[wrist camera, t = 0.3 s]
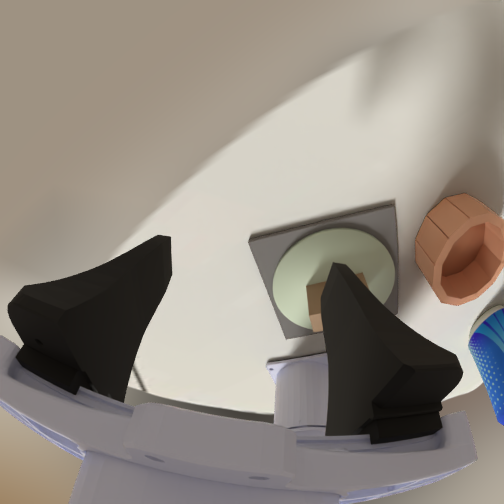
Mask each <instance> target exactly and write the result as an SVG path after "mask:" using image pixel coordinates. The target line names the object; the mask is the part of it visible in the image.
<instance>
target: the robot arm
mask: <svg viewBox="0 0 504 504" xmlns="http://www.w3.org/2000/svg"><path fill="white" fill-rule="evenodd" d="M171 276H172V258H171V237H169V236H163V235H157V236H155V237H153V238H151V239H149V240H147V241H145V242H144V243H142V244H140V245H138V246H137V247H135V248H133V249H131V250H130V251H128V252H126V253H124V254H122V255H120V256H118V257H116V258H115V259H113V260H111V261H109V262H107V263H105V264H102V265H100V266H98V267H95V268H93V269H91V270H88V271H85V272H82V273H79V274H77V275H73V276H70V277H67V278H63V279H60V280H55V281H51V282H46V283H40V284H33V285H26V286H24V287H23V288H22V289H21V290H20V291H19V292H18V294H17V295H16V296H15V297H14V298H13V300H12V301H11V302H10V303H9V304H8V314H9V318H10V319H11V322H12V324H13V326H14V327H15V329H16V331H17V333H18V334H19V336H20V338H21V340H22V341H23V343H24V345H23V347H22V348H21V349H20V348H19V347H18V346H17V345H16V344H15V343H13V342H11V341H10V340H8V339H7V338H5V337H3V336H0V406H1V407H2V408H3V409H5V410H6V411H7V412H8V413H10V414H11V415H12V416H14V417H15V418H16V419H18V420H19V421H20V422H22V423H23V424H25V425H26V426H27V427H29V428H30V429H32V430H33V431H34V432H36V433H37V434H39V435H40V436H42V437H44V438H45V439H47V440H48V441H50V442H51V443H53V444H55V445H56V446H58V447H60V448H61V449H63V450H65V451H66V452H68V453H70V454H72V455H74V456H76V457H77V458H79V459H81V460H83V462H82V465H81V467H80V470H79V473H78V476H77V479H76V482H75V485H74V488H73V491H72V495H71V497H70V501H69V504H350V503H356V502H362V501H368V500H372V499H377V498H381V497H386V496H389V495H394V494H398V493H401V492H405V491H408V490H412V489H415V488H418V487H421V486H424V485H428V484H431V483H434V482H436V481H439V480H441V479H443V478H445V477H447V476H449V475H451V474H453V473H455V472H457V471H459V470H461V469H463V468H465V467H467V466H468V465H470V464H471V463H474V462H475V461H477V459H478V457H477V452H476V448H475V445H474V440H473V436H472V433H471V429H470V425H469V422H468V418H467V415H466V412H465V411H460V412H456V413H452V414H448V415H445V416H443V417H441V418H440V415H439V411H441V410H442V404H441V401H442V400H443V399H444V398H445V397H446V396H447V395H448V394H449V393H450V392H451V391H452V390H453V389H454V388H455V387H456V386H457V385H458V384H459V382H460V380H461V378H462V376H463V370H462V368H461V365H460V363H459V360H458V358H457V356H456V354H454V353H452V352H450V351H448V350H446V349H444V348H442V347H440V346H438V345H436V344H434V343H433V342H431V341H429V340H428V339H426V338H424V337H423V336H421V335H420V334H418V333H417V332H415V331H414V330H413V329H411V328H410V327H409V326H407V325H406V324H405V323H403V322H402V321H401V320H400V319H399V318H397V317H396V316H395V315H394V314H393V313H392V312H390V311H389V310H388V309H387V308H386V307H385V306H384V305H383V304H382V303H381V302H380V301H379V300H378V299H377V298H376V297H375V296H374V295H373V294H372V292H371V291H370V290H369V289H368V288H367V287H366V286H365V285H364V284H363V282H362V281H361V280H360V279H359V278H358V277H357V276H356V275H355V273H354V272H353V271H352V270H351V269H350V268H349V267H348V266H347V265H346V264H341V263H335V262H333V263H332V266H331V269H330V272H329V275H328V278H327V281H326V284H325V286H324V289H323V292H322V295H321V320H322V326H323V332H324V338H325V345H326V351H327V353H323V354H318V355H313V356H307V357H301V358H295V359H289V360H283V361H276V362H269V363H267V364H266V368H267V370H268V372H269V374H270V375H271V377H272V379H273V381H274V383H275V385H276V391H275V411H274V424H271V423H266V422H259V421H250V420H243V419H236V418H229V417H222V416H216V415H211V414H206V413H201V412H196V411H191V410H187V409H183V408H178V407H174V406H170V405H165V404H158V403H153V402H149V403H143V404H139V405H136V406H135V407H134V406H131V405H128V404H125V403H124V399H125V394H126V390H127V386H128V382H129V378H130V374H131V371H132V367H133V364H134V361H135V358H136V354H137V351H138V349H139V346H140V343H141V340H142V337H143V335H144V333H145V330H146V328H147V326H148V324H149V322H150V320H151V319H152V317H153V315H154V313H155V311H156V309H157V307H158V305H159V304H160V302H161V300H162V298H163V296H164V294H165V292H166V290H167V287H168V284H169V282H170V279H171Z"/></svg>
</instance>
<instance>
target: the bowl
mask: <svg viewBox="0 0 504 504" xmlns="http://www.w3.org/2000/svg"><path fill="white" fill-rule="evenodd" d="M415 261H416V263H417V265H418V267H419V268H420V270H421V271H422V273H423V274H424V276H425V278H426V279H427V281H428V282H429V284H430V286H431V287H432V289H433V291H434V292H435V294H436V295H437V297H438V298H439V300H440V302H441V303H445V304H450V305H456V306H457V305H458V306H459V305H461V304H464V303H466V302H469V301H472V300H474V299H476V298H478V297H479V296H480V295H481V294H482V293H484V292H485V291H486V290H487V289H488V288H489V287H490V286H491V285H492V284H493V282H495V280H496V279H497V277H498V275H499V274H500V272H501V270H502V269H503V267H504V219H502V218H501V217H500V216H499V215H498V214H496V213H495V212H494V211H493V210H491V209H490V208H489V207H487V206H486V205H485V204H483V203H482V202H481V201H479V200H477V199H476V198H474V197H472V196H470V195H468V194H466V193H463V194H458V195H454V196H450V197H446V199H445V198H444V199H443V200H442V201H441V202H440V203H439V204H438V205H437V206H436V207H434V208H433V209H432V210H431V211H430V212H429V213H428V214H427V216H426V217H425V219H424V221H423V223H422V226H421V228H420V230H419V232H418V234H417V236H416V240H415Z"/></svg>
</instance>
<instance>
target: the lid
mask: <svg viewBox="0 0 504 504" xmlns="http://www.w3.org/2000/svg"><path fill="white" fill-rule="evenodd" d="M333 262H335V263H341V264H346V265H347V266H348V267H349V268H350V269H351V270H352V271H353V272H354V273H355V275H356V276H357V277H358V278H359V279H360V280H361V281H362V282H363V284H364V285H365V286H366V287H367V288H368V289H369V290H370V291H371V292H372V294H373V295H374V296H375V297H376V298H377V299H378V300H379V301H380V302H381V303H382V304H384V303H385V302H386V300H387V299H388V297H389V295H390V293H391V291H392V288H393V285H394V281H395V267H394V263H393V260H392V258H391V256H390V254H389V252H388V250H387V249H386V248H385V246H384V245H383V244H382V243H381V242H380V241H379V240H378V239H377V238H375V237H374V236H372V235H370V234H368V233H366V232H364V231H361V230H357V229H352V228H330V229H325V230H321V231H318V232H315V233H313V234H310V235H308V236H306V237H304V238H303V239H301V240H299V241H298V242H296V243H295V244H294V245H293V246H291V247H290V248H289V249H288V250H287V251H286V253H285V254H284V255H283V256H282V258H281V259H280V261H279V263H278V264H277V267H276V269H275V272H274V277H273V296H274V299H275V302H276V304H277V307H278V308H279V310H280V311H281V312H282V313H283V315H284V316H285V317H287V318H288V319H289V320H290V321H292V322H293V323H295V324H297V325H299V326H301V327H304V328H308V329H312V330H313V332H319V331H323V326H322V320H321V295H322V292H323V289H324V286H325V284H326V281H327V278H328V275H329V272H330V269H331V266H332V263H333Z"/></svg>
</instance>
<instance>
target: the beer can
mask: <svg viewBox="0 0 504 504" xmlns="http://www.w3.org/2000/svg"><path fill="white" fill-rule="evenodd" d="M468 347H469V350H470V352H471V354H472V356H473V358H474V361H475V363H476V365H477V367H478V370H479V372H480V374H481V377H482V379H483V382H484V384H485V386H486V389H487V391H488V394H489V397H490V400H491V402H492V405H493V408H494V411H495V414H496V417H497V420H498V422H499V423H501V424H502V425H504V306H502V305H498V306H495V307H492V308H491V309H489V310H488V311H486V312H485V313H484V314H483V315H482V316H481V317H480V318H479V319H478V320H477V321H476V322H475V324H474V325H473V327H472V329H471V331H470V334H469V343H468Z"/></svg>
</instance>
